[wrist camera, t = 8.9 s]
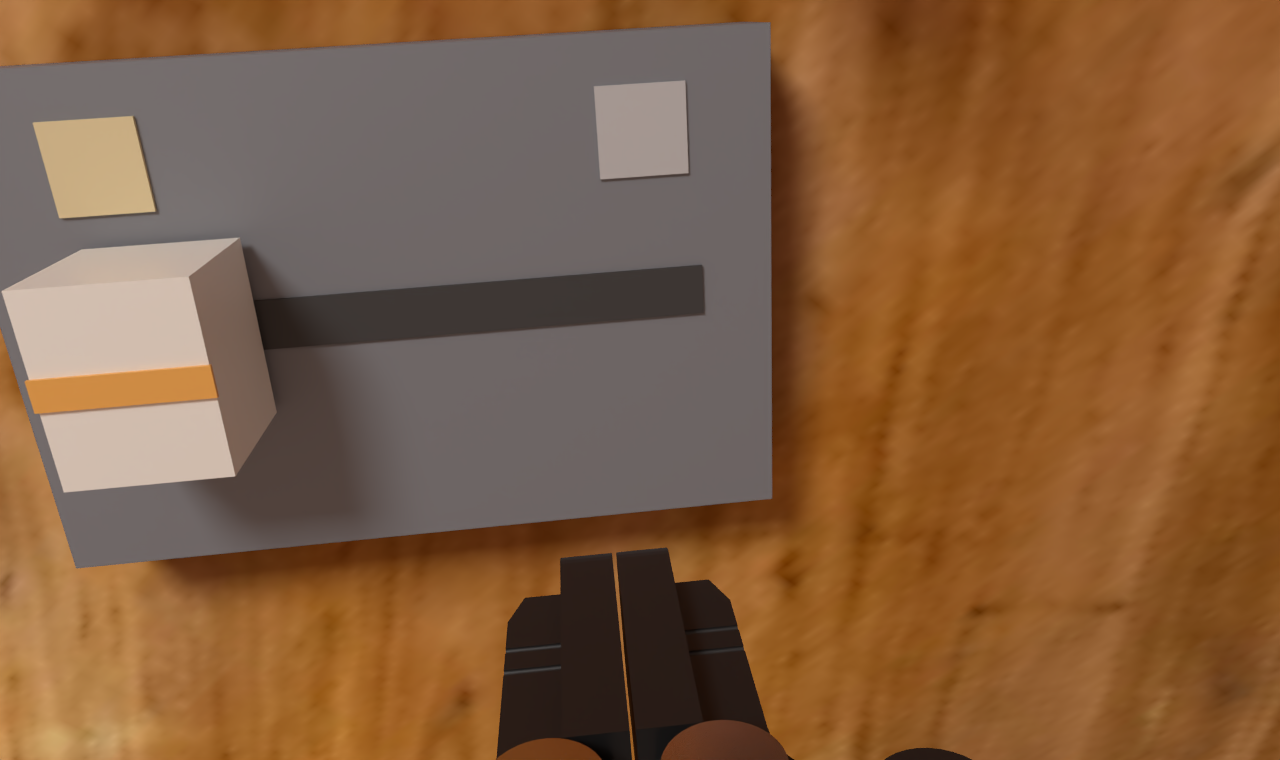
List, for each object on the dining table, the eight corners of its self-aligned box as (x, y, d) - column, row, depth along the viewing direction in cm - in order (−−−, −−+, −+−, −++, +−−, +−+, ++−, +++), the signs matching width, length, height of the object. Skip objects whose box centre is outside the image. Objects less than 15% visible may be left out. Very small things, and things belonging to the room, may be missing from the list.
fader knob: (242, 237, 25) (189, 277, 21) (278, 411, 27) (236, 478, 23) (79, 249, 25) (-4, 292, 21) (128, 425, 26) (60, 494, 23)
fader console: (746, 21, 27) (771, 22, 25) (751, 457, 33) (772, 500, 30) (-14, 67, 26) (-82, 73, 23) (117, 518, 31) (74, 569, 28)
